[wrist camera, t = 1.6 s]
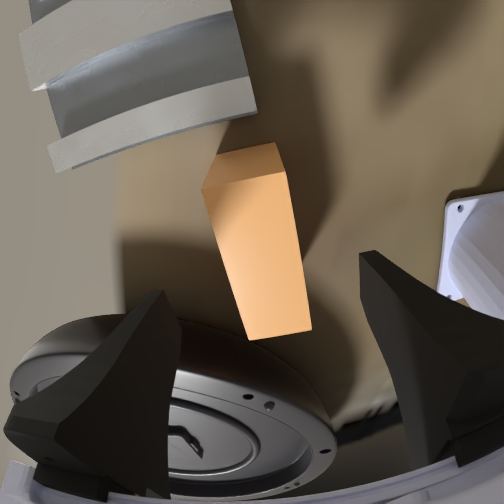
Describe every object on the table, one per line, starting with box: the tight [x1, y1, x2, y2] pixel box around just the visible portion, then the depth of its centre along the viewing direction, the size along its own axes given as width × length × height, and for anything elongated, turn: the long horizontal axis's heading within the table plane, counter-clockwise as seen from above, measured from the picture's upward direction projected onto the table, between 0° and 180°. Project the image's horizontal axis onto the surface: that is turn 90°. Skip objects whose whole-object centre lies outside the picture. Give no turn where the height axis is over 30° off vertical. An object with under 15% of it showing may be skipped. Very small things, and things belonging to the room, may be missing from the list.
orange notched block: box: [201, 142, 312, 341], centre depth 15 cm, size 3×8×5 cm, turn 13°
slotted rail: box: [18, 0, 258, 173], centre depth 11 cm, size 10×13×2 cm
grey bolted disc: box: [10, 314, 337, 501], centre depth 26 cm, size 30×6×30 cm
